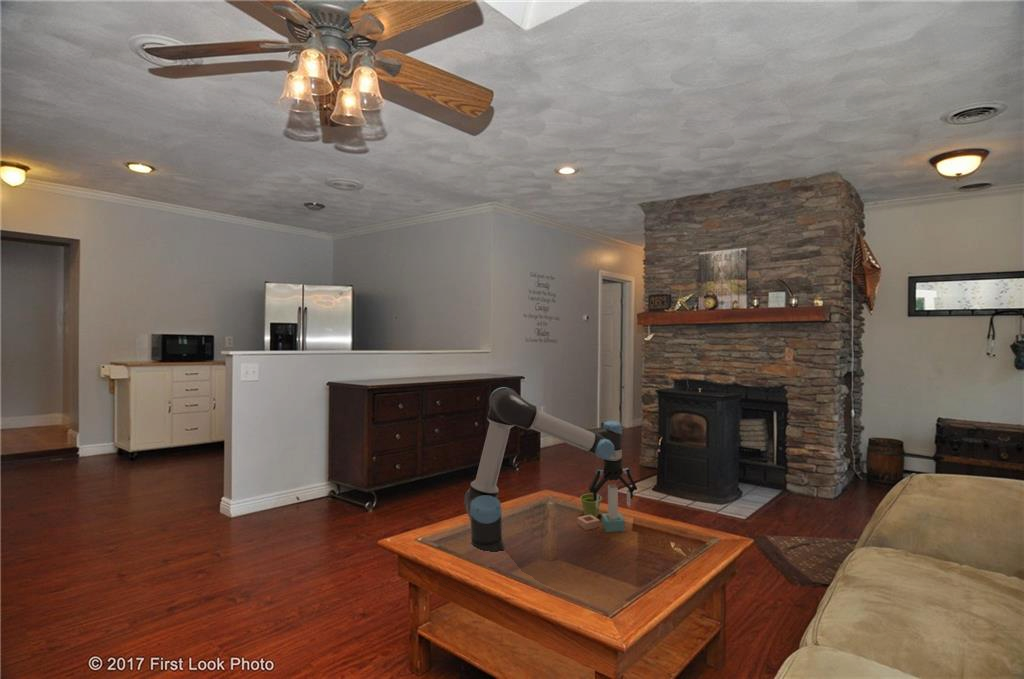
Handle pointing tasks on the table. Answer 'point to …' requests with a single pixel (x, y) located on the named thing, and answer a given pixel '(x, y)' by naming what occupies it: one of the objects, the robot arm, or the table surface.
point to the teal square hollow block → (613, 523)
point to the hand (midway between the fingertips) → (612, 506)
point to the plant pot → (590, 504)
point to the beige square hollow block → (588, 522)
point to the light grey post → (612, 502)
